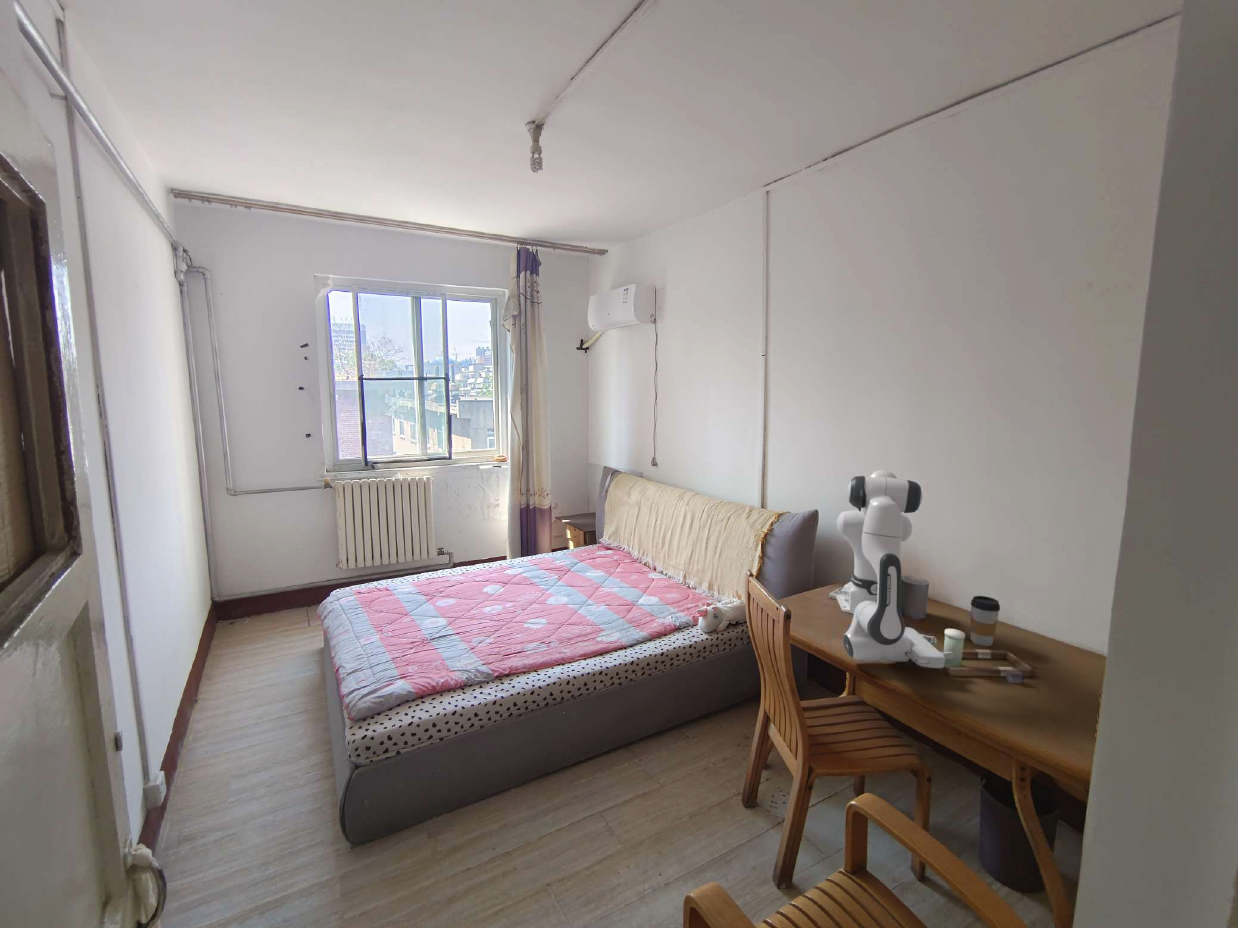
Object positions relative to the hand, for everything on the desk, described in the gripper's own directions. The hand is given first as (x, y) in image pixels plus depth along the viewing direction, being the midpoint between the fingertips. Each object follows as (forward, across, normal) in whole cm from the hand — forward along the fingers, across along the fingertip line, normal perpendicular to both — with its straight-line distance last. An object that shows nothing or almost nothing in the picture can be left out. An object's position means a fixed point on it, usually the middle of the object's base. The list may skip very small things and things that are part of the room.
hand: (943, 646), depth 176 cm
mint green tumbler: (+3, 0, +6) cm, 7 cm away
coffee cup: (+22, +16, +6) cm, 28 cm away
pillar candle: (+10, +39, +6) cm, 41 cm away
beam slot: (+12, -2, +6) cm, 13 cm away
